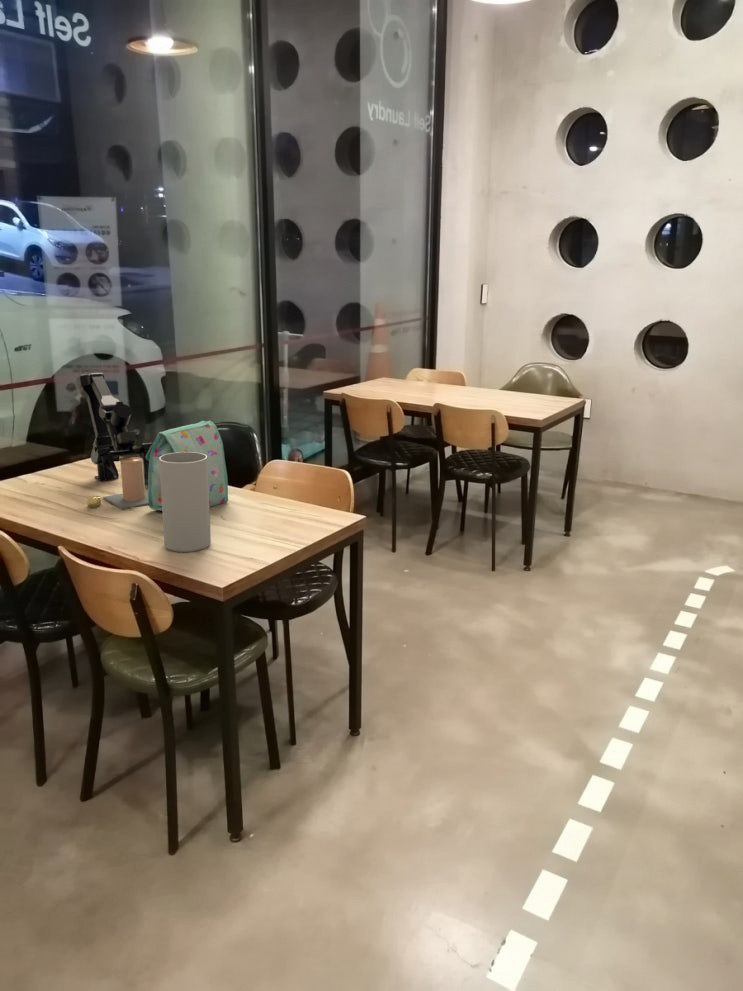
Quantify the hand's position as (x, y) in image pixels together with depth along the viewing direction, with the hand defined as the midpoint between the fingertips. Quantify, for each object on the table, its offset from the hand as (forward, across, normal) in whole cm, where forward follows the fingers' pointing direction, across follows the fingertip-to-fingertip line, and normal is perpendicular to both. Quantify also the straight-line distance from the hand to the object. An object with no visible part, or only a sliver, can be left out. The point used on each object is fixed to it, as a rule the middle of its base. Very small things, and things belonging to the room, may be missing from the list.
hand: (132, 474), depth 251 cm
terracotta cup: (+6, 0, +5) cm, 8 cm away
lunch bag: (+18, +13, -6) cm, 23 cm away
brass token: (+7, -13, +5) cm, 16 cm away
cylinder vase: (+41, -1, -30) cm, 51 cm away
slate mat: (+6, 0, +5) cm, 8 cm away
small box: (-6, +14, +19) cm, 24 cm away
